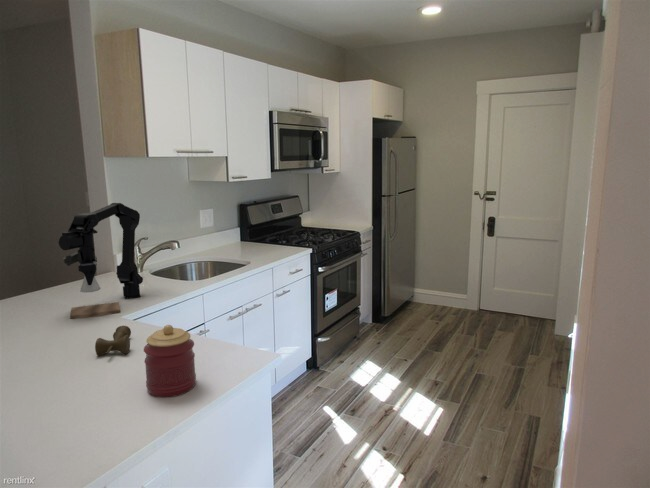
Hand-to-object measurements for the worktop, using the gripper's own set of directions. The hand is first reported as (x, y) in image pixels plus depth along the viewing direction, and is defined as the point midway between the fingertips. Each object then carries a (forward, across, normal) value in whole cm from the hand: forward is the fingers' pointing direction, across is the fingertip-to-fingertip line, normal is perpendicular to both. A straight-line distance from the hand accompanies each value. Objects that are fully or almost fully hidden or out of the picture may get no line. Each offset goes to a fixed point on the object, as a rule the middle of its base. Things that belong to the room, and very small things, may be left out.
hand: (90, 283), depth 189 cm
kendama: (+12, +46, +8) cm, 49 cm away
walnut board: (+12, 0, +1) cm, 12 cm away
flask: (+3, 0, 0) cm, 3 cm away
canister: (+12, +81, +21) cm, 85 cm away
